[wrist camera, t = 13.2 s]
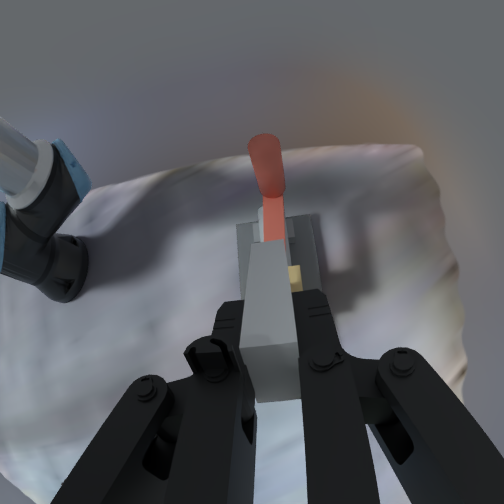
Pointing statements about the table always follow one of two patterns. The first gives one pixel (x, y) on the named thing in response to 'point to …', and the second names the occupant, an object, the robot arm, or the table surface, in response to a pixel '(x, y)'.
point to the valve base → (296, 252)
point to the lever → (269, 183)
